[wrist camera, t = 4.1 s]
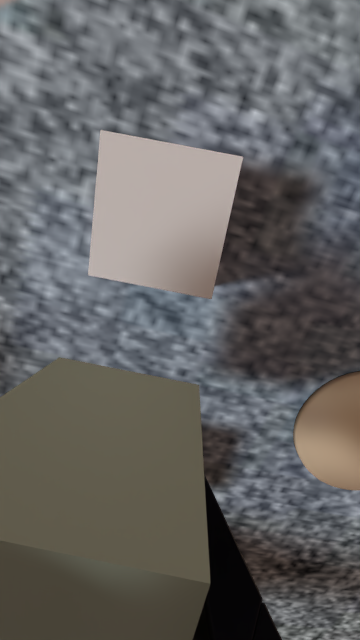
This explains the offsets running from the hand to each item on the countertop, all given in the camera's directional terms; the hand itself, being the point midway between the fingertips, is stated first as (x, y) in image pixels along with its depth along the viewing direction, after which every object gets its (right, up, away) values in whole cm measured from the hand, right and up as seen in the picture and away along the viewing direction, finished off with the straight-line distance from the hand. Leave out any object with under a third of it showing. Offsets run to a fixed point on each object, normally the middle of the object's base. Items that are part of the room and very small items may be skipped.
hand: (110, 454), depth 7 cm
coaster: (+15, -3, +8) cm, 17 cm away
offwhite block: (+2, +9, +6) cm, 11 cm away
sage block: (0, 0, +1) cm, 1 cm away
